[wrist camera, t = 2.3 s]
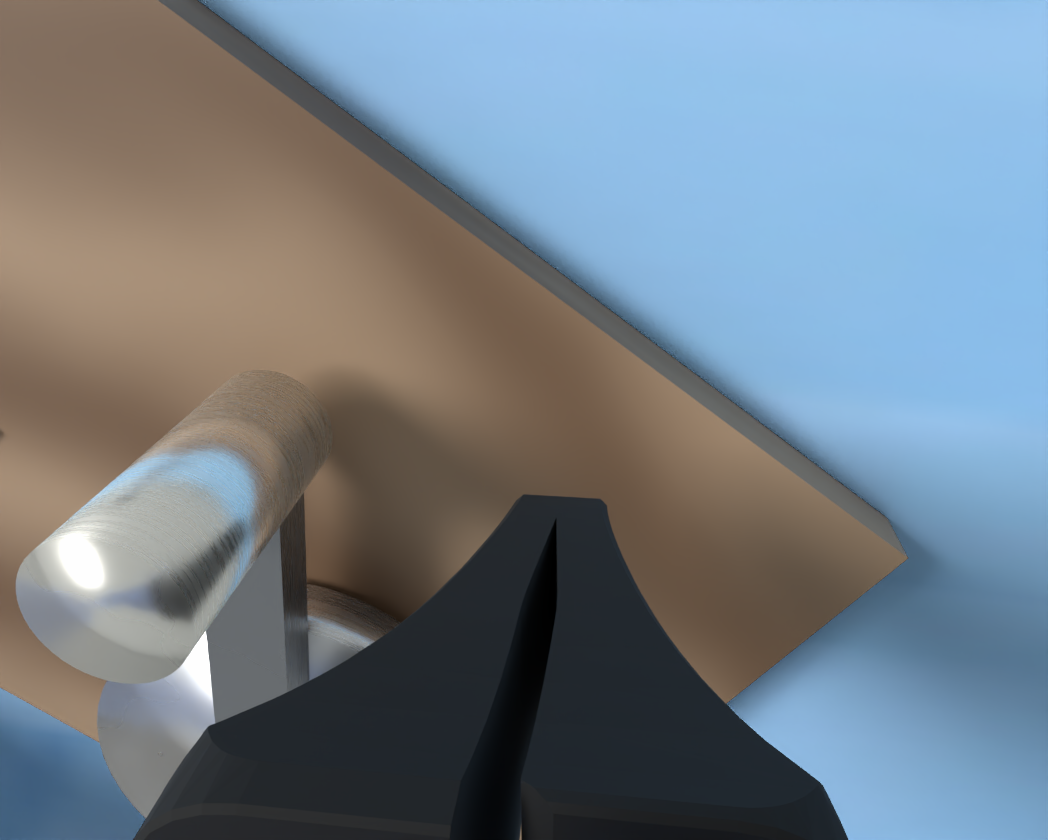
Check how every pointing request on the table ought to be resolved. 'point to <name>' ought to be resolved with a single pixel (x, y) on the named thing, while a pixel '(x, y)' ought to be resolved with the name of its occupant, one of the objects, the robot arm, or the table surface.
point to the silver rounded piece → (197, 580)
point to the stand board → (354, 351)
